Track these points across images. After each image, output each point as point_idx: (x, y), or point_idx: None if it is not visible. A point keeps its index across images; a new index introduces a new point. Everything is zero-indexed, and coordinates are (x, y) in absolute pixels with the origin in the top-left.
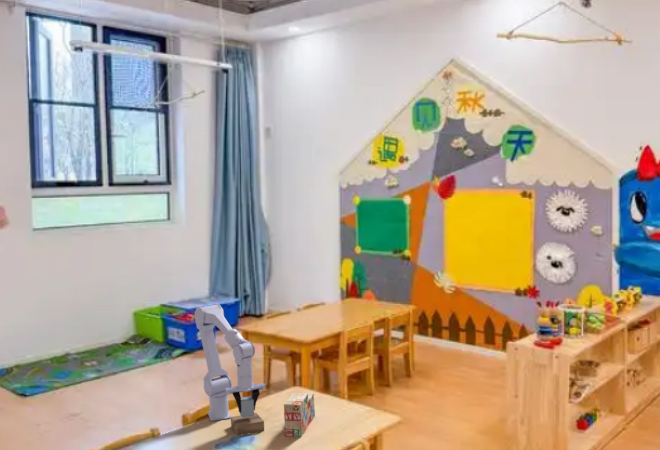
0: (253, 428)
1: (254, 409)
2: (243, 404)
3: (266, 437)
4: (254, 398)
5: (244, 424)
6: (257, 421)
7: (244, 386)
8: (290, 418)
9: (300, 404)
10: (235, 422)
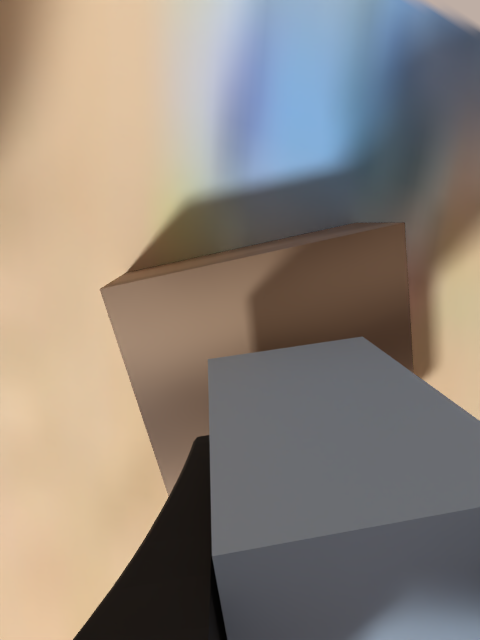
0: (223, 255)
1: (198, 441)
2: (452, 440)
3: (104, 89)
4: (176, 625)
5: (325, 246)
6: (175, 301)
7: None
8: None
9: None
10: (405, 330)
